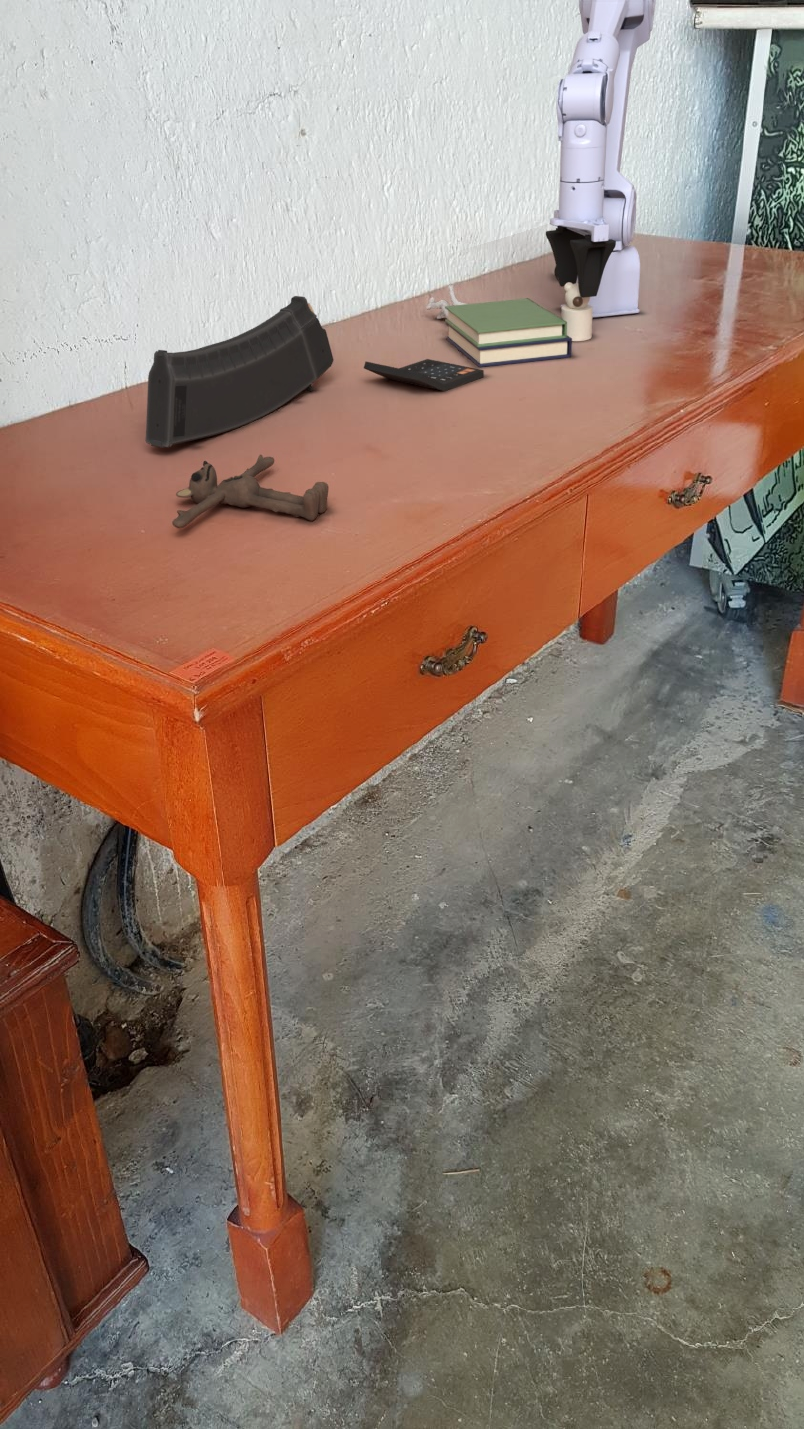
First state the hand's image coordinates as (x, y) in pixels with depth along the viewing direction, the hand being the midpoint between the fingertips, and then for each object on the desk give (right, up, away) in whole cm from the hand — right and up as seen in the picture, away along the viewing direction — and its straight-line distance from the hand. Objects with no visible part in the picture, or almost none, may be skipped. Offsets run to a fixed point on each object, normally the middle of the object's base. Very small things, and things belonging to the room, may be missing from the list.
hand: (577, 290), depth 154 cm
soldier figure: (-15, -1, +12) cm, 19 cm away
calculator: (-21, -16, -12) cm, 29 cm away
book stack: (-10, -8, 0) cm, 12 cm away
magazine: (-41, -23, -21) cm, 52 cm away
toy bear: (0, -5, +3) cm, 6 cm away
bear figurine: (-38, -38, -46) cm, 70 cm away
